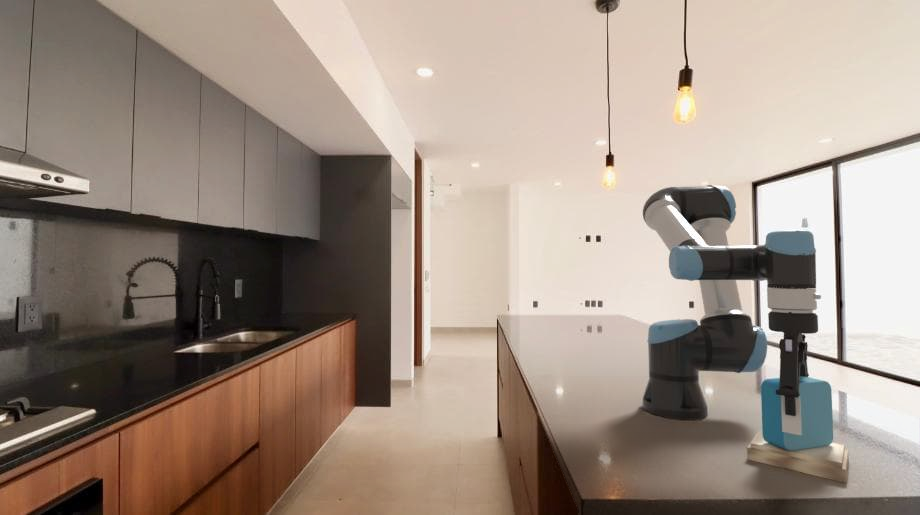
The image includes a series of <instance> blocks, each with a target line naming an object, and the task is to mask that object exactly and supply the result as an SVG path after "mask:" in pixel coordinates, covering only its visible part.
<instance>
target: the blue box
mask: <svg viewBox="0 0 920 515" xmlns="http://www.w3.org/2000/svg"><path fill="white" fill-rule="evenodd" d="M808 377H809V376H808ZM808 377H804V376H800V379H799V394H800V396H799V397H800V401H801V427H802V435H796V434H791V433H786V432H782V412H781V395H776V390H779V385H780V377H777V378H776V377H775V378H766V379H764V380H763V381H762V383H761V385H760V395H761V396H760V397H761V424H762V425H761V427H762V428H761V429H762V432H763V438H764V440H765V441H766V442H768V443H770V444H773V445H776V446H778V447H781V448H784V449H786V450H789V451H794V450H802V449H809V448H816V447H823V446H829V445H830V444H831V443H833V441H834V421H833V420H834V419H833V418H834V417H833V399H832V398H833V395H832V386H831V384H830V383H829V382H828V381H826V380H822V379H816V378H813V377H809V378H808Z"/></svg>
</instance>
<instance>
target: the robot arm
mask: <svg viewBox="0 0 920 515" xmlns="http://www.w3.org/2000/svg"><path fill="white" fill-rule="evenodd" d="M736 208H737V204H736V200H735V196H734V194H733V193H732V191H731V190H730V189H729V188H728V187H726V186H724V185H723V186H722V185H712V184H708V185H705V186H704V185H701V186H669V187H665V188H661V189H660V190H657V191H656V192H654V193H653V194H652V195H650V196H649V197H648V198H647V200H646V201H645V203H644V205H643V209H642V217H643V220H644V222H645V224H646V226H647V227H648V228H650V230H653V231H655V232H656V233H657V235H658V236H659V237H660V239H661V240H662V242H663V243H664V245H665V246H666V248H667V250H668V251H669V255H668V256H669V257H668V268H669V272H670V275H671V276H672V277H673V278H674V279H675V280H685V281H686V280H687V281H690V282H692V281H699V285H700V286H699V288H700V293H701V298H702V304H703V310H704V316H702V318H700V320H699V323H700V324H699V323H698V321H697V320H696V319H691V318H690V319H689V318H687V319H685V318H684V319H680V318H679V319H669V320H668V319H667V320H663V321H662V320H661V321H656V322H654V323H652V324H650V326H649V328H648V332H647V343H648V346H647V347H648V382H647V385H646V387H645V390H644V393H643V397H642V409H643V410H644V411H646V412H648V413H650V414H652V415H656V416H660V417H663V418H669V419H670V418H671V419H677V420H699V419H700V420H701V419H705V418H706V417H707V416H708V414H709V413H708V411H709V410H708V404H707V401H706V399H705V396H704V394H703V391H702V388H701V385H700V383H699V382H700V381H699V380H700V379H699V376H700V375H699V372H721V373H722V372H727V373H736V374H741V373H754V372H758V371H759V370H760V369H761V368H762V367H763V365H764V364H765V361H766V359H767V354H768V353H767V352H768V339H767V336H766V335H767V334H766V332H765V330H764V329H763V328H762V327H760V326H757V325H753V321H752V317H751V316H750V315H749V314H747V313H745V312H744V311H743V308H742V307H743V306H742V303H741V298H740V294H739V293H740V292H739V288H738V284H737V281H756V282H757V281H760V282H763V281H766V282H767V285H766V286H767V287H766V293H767V294H766V297H767V300H766V301H767V308H768V309H770V310H771V311H769V312H768V313H767V315H768V320H767V321H768V329H769V330H770V331H772V332H777V333H783V338H780V340H779V345H778V346H779V347H778V348H779V350H780V351H779V360H780V361H779V363H780V364H779V378H780V385H779V390H776V395H781V412H782V432H786V433H791V434H796V435H802V427H801V401H800V397H799V396H800V394H799V379H800V376H804V377H808V378H810V377H809V376H810V374H809V372H808V371H809V370H808V341H806V335H807V334H816V333H818V331H819V318H818V316H819V315H818V314H817V313H815V312H814V311H816V310H817V309H818V305H817V304H818V303H817V300H820V299H822V295H821V294H819V293H816V292H817V268H816V267H817V264H816V261H817V259H816V258H817V257H816V253H817V249H816V247H815V237H814V234H813V232H811V231H809V230H805V229H792V230H791V229H788V230H777V231H771V232H769V233H767V235H766V236H765V242H764V244H759V245H729V240H728V236H727V233H726V232H727V231H728V230H729V229H730V228H731V224H732V223H733V222H734V221H735V219H736V215H737V210H736ZM805 334H806V335H805Z"/></svg>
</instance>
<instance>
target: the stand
mask: <svg viewBox="0 0 920 515" xmlns="http://www.w3.org/2000/svg"><path fill="white" fill-rule="evenodd" d="M746 451H747V452H746V453H747V454H746V455H747V457H746V458H747V460H748V461H752V462H757V463H762V464H765V465H768V466H769V465H770V466H774V467H777V468H778V467H779V468H783V469H787V470H790V471H793V472H799V473H804V474H806V475H807V474H808V475H811V476H816V477H820V478H823V479H826V480H831V481H835V482H840V483H844V484H847V482H848V473H849V471H848V470H849V458H850V457H849V449H848V448H845V444H840V443H836V442H832V443H831V444H830V445H829V446H823V447H816V448H809V449H802V450H794V451H789V450H786V449H784V448H781V447H778V446H776V445H773V444H770V443H768V442H766V441H765V440H764V438H763V432H762V428H760V429H759V431H758V432H757V433H756V434H755V436H754V437H753V439H752V440H751V441H750V443H749V444H748V445H747V447H746Z"/></svg>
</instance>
